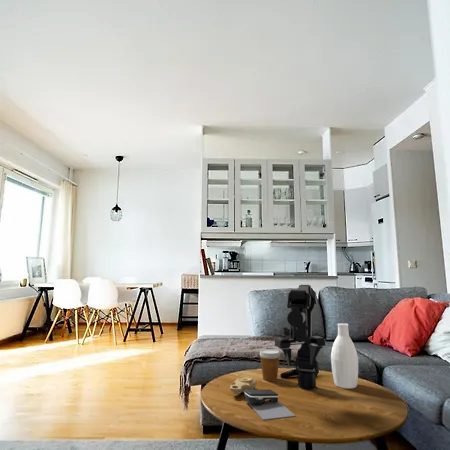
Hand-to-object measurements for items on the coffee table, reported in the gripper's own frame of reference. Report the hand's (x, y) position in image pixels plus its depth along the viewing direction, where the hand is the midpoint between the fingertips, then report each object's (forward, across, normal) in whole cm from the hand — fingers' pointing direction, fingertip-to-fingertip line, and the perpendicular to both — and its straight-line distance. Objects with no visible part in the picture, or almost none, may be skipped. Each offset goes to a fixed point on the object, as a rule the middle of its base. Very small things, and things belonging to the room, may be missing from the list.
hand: (300, 365), depth 126 cm
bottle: (+13, -27, -12) cm, 32 cm away
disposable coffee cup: (+13, +1, -28) cm, 31 cm away
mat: (+13, +14, +4) cm, 19 cm away
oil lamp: (+13, +18, -15) cm, 27 cm away
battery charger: (+11, +9, -3) cm, 15 cm away
